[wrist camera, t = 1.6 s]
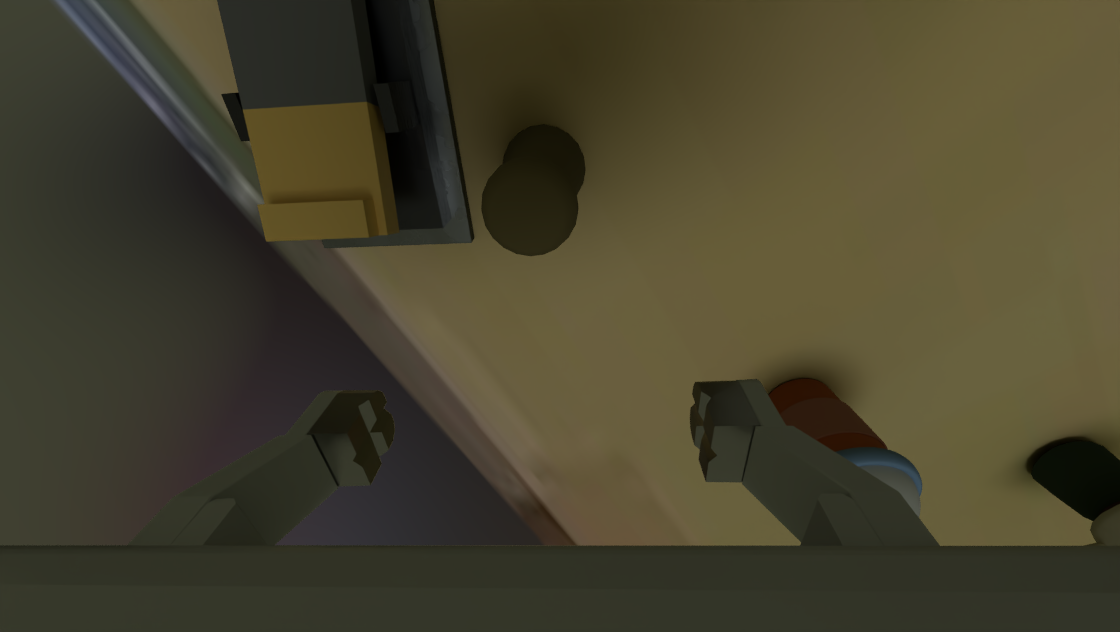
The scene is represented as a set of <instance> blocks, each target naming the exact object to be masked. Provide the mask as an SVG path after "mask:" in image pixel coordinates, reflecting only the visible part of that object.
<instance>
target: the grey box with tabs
mask: <svg viewBox="0 0 1120 632" xmlns="http://www.w3.org/2000/svg"><path fill="white" fill-rule="evenodd" d="M365 4H366V11H367V18H368V24H369V31H370V38H371V44H372V51H373V58H374V65H375V71H376V78H377V84H373V85H374V89H375V93H376V97H377V101H378V105H379V109H380V112H381V116H382V120H383V125H384V132H385V138H386V145H387V152H388V159H389V165H390V172H391V179H392V185H393V192H394V199H395V205H396V212H397V219H398V226H399V232H400V233H395V234H390V235H379V236H374V237H367V238H342V239H321V240H322V242H323V245H324V248H342V247H369V246H396V245H422V244H449V243H472V241H473V240H474V233H473V227H472V221H471V215H470V209H469V204H468V198H467V192H466V186H465V180H464V175H463V169H462V163H461V157H460V152H459V146H458V140H457V134H456V128H455V123H454V117H453V111H452V105H451V99H450V94H449V88H448V82H447V76H446V70H445V65H444V59H443V53H442V47H441V42H440V36H439V30H438V24H437V18H436V13H435V7H434V1H433V0H365ZM221 95H222V97H223V100H224V102H225V104H226V107H227V109H228V111H229V114H230V116H231V118H232V121H233V123H234V125H235V128H236V130H237V133H238V135H239V137H240V140H241V141H250V138H249V134H248V130H247V126H246V121H245V117H244V113H243V109H242V104H241V100H240V96H239V93H228V94H221Z"/></svg>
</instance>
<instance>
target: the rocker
mask: <svg viewBox="0 0 1120 632" xmlns="http://www.w3.org/2000/svg"><path fill="white" fill-rule="evenodd" d="M217 2H218V6H219V10H220V14H221V19H222V23H223V27H224V32H225V36H226V40H227V44H228V49H229V53H230V57H231V61H232V66H233V70H234V74H235V79H236V83H237V87H238V91H239V96H240V100H241V104H242V109H243V113H244V117H245V121H246V126H247V130H248V134H249V138H250V143H251V147H252V151H253V156H254V160H255V164H256V168H257V173H258V177H259V181H260V185H261V190H262V194H263V198H264V203H265V204H263V205H258V209H259V213H260V218H261V222H262V226H263V230H264V234H265V239H266V241H291V240H316V239H342V238H367V237H374V236H379V235H390V234H395V233H400V232H399V226H398V219H397V212H396V205H395V199H394V192H393V185H392V179H391V172H390V165H389V159H388V152H387V145H386V138H385V132H384V125H383V120H382V116H381V112H380V109H379V105H378V101H377V97H376V93H375V89H374V85H373V84H377V78H376V71H375V65H374V58H373V51H372V44H371V38H370V31H369V24H368V18H367V11H366V4H365V0H217Z"/></svg>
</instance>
